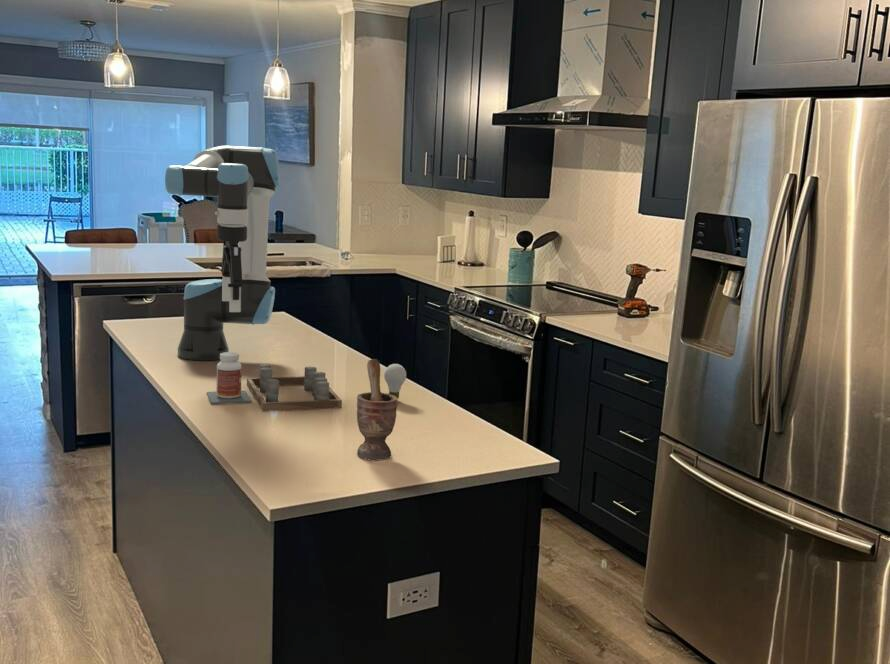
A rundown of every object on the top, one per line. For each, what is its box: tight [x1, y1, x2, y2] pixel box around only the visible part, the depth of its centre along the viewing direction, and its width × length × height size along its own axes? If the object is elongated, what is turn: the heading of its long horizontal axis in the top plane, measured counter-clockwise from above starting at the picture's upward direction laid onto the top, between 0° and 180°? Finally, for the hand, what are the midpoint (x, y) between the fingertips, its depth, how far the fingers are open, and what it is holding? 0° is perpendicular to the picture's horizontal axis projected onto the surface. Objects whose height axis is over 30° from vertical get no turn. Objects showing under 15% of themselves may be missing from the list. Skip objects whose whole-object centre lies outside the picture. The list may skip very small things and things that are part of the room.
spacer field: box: [246, 363, 343, 412], centre depth 230 cm, size 25×20×6 cm
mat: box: [206, 390, 253, 406], centre depth 225 cm, size 10×10×1 cm
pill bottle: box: [216, 351, 242, 399], centre depth 224 cm, size 6×6×11 cm
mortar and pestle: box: [356, 358, 398, 461], centre depth 189 cm, size 12×9×20 cm
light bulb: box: [383, 363, 407, 400], centre depth 232 cm, size 6×6×10 cm
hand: (231, 306), depth 228 cm, fingers open, 13 cm apart
